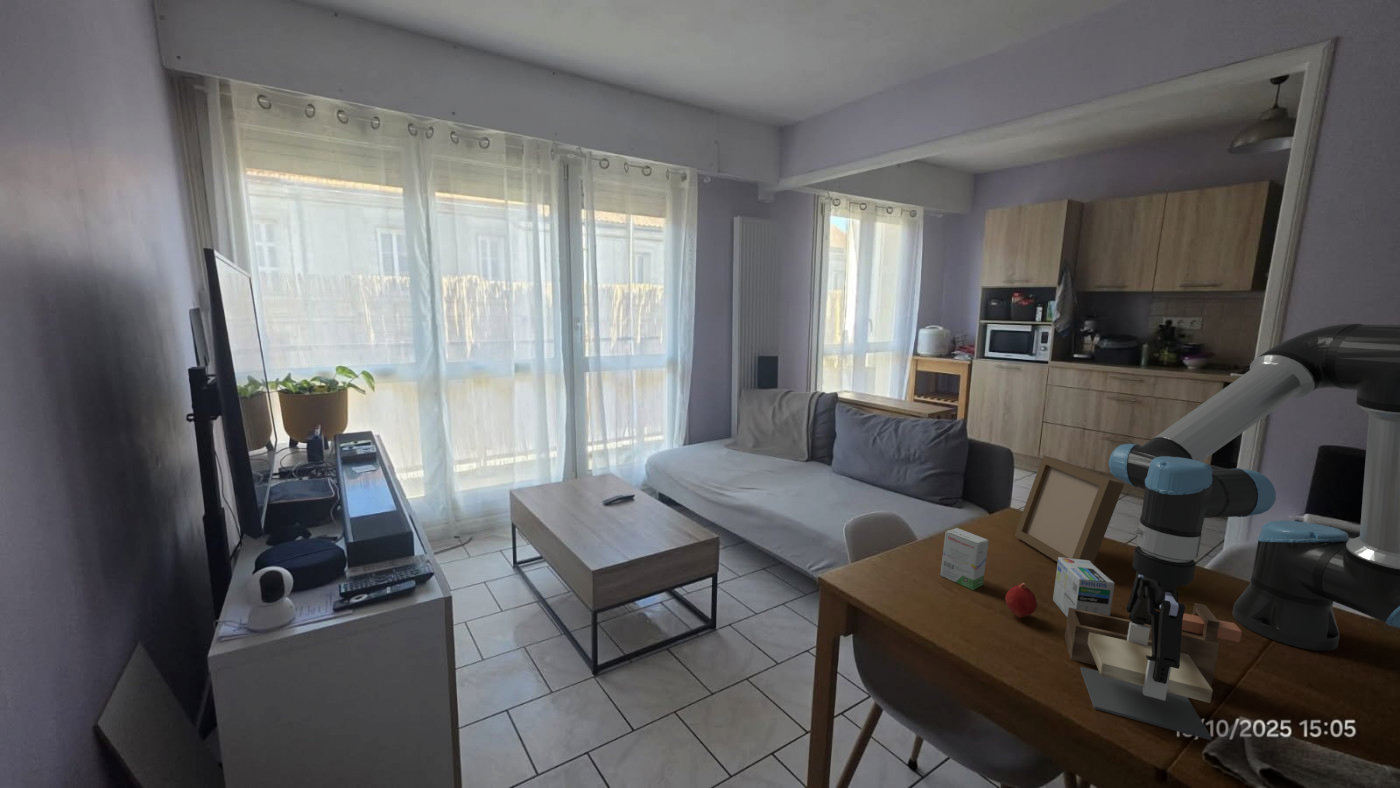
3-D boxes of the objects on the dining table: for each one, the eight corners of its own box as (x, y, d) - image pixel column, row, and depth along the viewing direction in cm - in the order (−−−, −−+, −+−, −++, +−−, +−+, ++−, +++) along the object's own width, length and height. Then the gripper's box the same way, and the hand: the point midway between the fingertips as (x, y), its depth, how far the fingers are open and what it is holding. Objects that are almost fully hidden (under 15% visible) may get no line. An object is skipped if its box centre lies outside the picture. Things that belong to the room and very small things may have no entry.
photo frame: (1073, 576, 134) (1088, 480, 130) (1013, 538, 155) (1024, 455, 151) (1127, 574, 135) (1143, 479, 131) (1060, 537, 157) (1072, 455, 153)
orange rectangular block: (1232, 633, 95) (1234, 623, 94) (1239, 642, 92) (1242, 631, 92) (1174, 621, 98) (1176, 611, 98) (1180, 629, 96) (1182, 619, 95)
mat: (1183, 694, 93) (1184, 692, 93) (1211, 740, 83) (1211, 737, 83) (1080, 669, 99) (1080, 666, 99) (1094, 708, 89) (1094, 706, 89)
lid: (1186, 666, 91) (1188, 654, 91) (1210, 703, 83) (1212, 690, 83) (1087, 643, 97) (1089, 632, 97) (1100, 675, 89) (1102, 663, 88)
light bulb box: (1109, 631, 111) (1116, 583, 109) (1073, 626, 112) (1079, 579, 111) (1083, 603, 121) (1090, 559, 120) (1051, 600, 123) (1056, 556, 121)
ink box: (939, 575, 133) (943, 531, 131) (951, 570, 136) (955, 526, 134) (973, 591, 126) (978, 544, 124) (984, 584, 129) (990, 538, 127)
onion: (998, 609, 119) (1002, 575, 117) (1024, 609, 118) (1028, 576, 117) (1012, 624, 113) (1017, 589, 111) (1040, 625, 113) (1045, 590, 111)
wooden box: (1195, 669, 99) (1207, 604, 97) (1211, 693, 93) (1224, 624, 91) (1064, 639, 108) (1072, 578, 106) (1071, 659, 102) (1080, 595, 100)
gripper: (1117, 523, 98) (1100, 634, 102) (1159, 577, 78) (1135, 713, 82) (1169, 531, 95) (1149, 645, 99) (1226, 590, 75) (1199, 730, 79)
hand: (1143, 676), depth 90 cm, fingers closed on lid, 10 cm apart
